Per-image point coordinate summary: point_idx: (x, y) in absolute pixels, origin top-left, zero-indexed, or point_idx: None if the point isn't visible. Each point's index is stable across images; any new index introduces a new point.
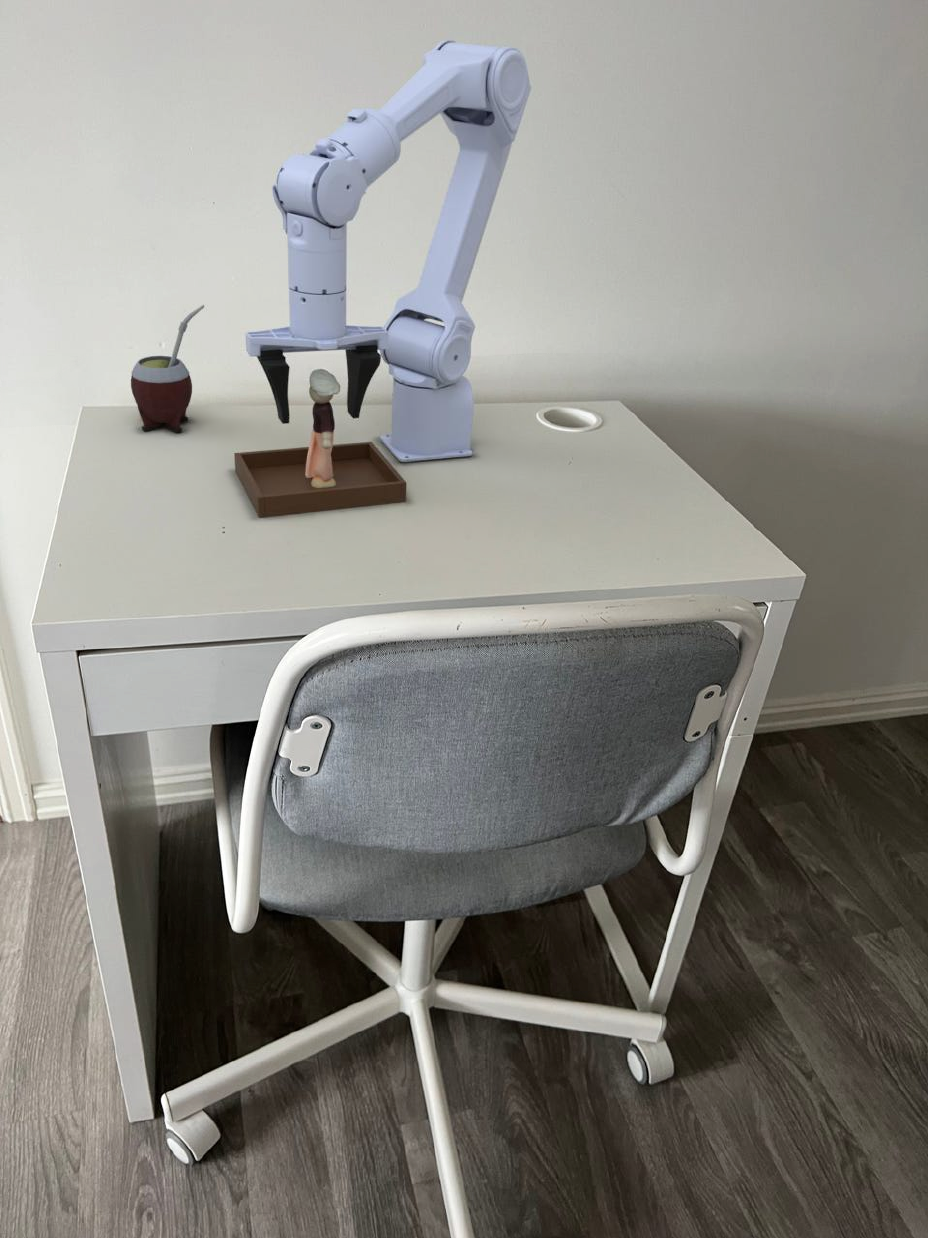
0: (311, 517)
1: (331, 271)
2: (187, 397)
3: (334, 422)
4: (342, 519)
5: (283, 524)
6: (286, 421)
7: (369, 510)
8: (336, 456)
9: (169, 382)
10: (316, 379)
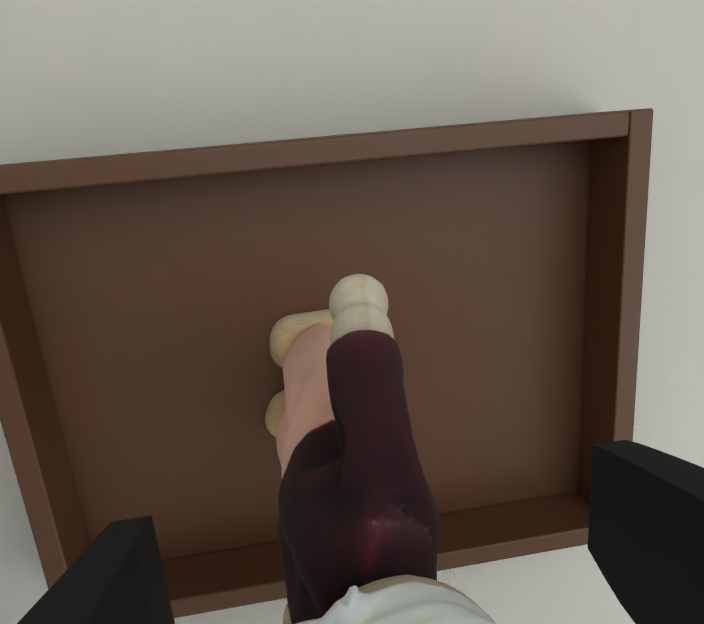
0: (412, 81)
1: None
2: None
3: (290, 478)
4: (292, 36)
5: (529, 36)
6: (616, 446)
7: (161, 106)
8: (230, 560)
9: None
10: None
